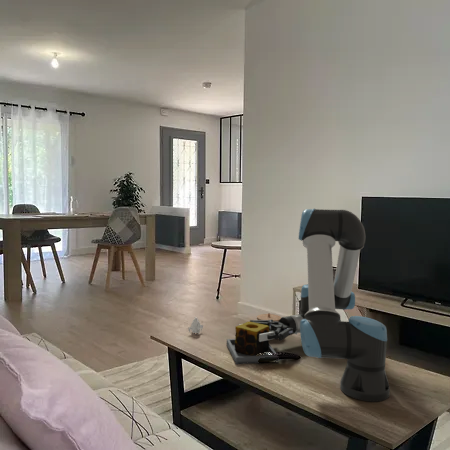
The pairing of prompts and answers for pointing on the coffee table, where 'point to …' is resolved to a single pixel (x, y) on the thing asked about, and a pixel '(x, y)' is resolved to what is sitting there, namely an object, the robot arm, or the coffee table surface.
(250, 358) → the tray
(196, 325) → the rocket toy
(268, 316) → the lidded jar
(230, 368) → the coffee table surface
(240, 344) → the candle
